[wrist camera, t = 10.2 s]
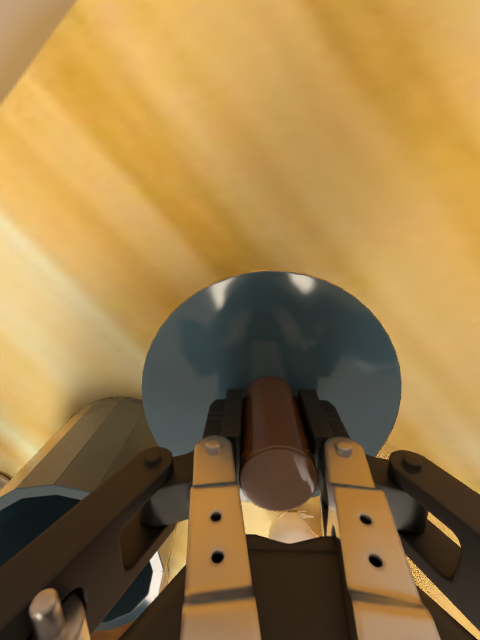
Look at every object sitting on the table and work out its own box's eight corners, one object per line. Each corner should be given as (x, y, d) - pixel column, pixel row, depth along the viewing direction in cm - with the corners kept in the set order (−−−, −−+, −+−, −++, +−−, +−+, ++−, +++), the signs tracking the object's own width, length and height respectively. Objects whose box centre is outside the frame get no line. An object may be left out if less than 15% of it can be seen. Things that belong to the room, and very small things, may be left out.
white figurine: (366, 719, 22) (242, 617, 22) (341, 593, 31) (251, 516, 30) (437, 680, 21) (307, 568, 20) (391, 559, 29) (298, 476, 28)
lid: (239, 211, 14) (231, 196, 8) (445, 365, 15) (565, 448, 9) (105, 411, 17) (26, 509, 11) (289, 522, 18) (307, 659, 12)
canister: (103, 371, 25) (19, 450, 16) (217, 444, 27) (199, 553, 18) (43, 464, 28) (-58, 576, 19) (150, 525, 30) (104, 656, 20)
